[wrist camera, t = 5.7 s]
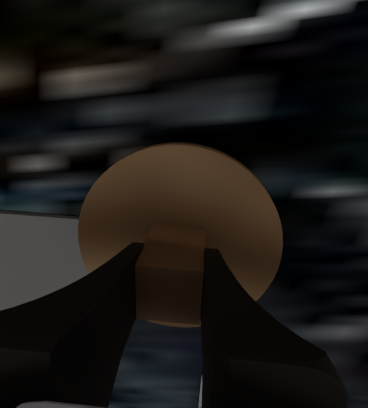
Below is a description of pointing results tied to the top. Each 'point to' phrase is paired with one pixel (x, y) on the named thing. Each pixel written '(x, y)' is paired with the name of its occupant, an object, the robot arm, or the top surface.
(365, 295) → the top surface
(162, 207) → the lid
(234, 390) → the robot arm
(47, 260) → the mat
